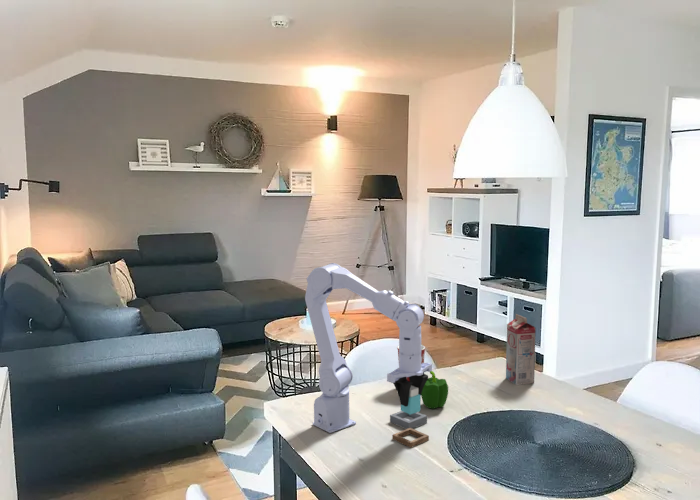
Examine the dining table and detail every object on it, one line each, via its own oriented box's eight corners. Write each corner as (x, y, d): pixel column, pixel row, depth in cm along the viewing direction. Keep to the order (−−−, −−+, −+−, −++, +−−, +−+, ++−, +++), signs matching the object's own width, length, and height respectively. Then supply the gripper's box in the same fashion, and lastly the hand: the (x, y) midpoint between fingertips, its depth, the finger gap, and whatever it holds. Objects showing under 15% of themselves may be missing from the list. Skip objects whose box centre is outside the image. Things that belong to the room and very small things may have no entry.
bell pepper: (448, 412, 171) (448, 378, 169) (419, 410, 172) (419, 377, 171) (448, 401, 179) (448, 369, 178) (420, 400, 180) (421, 368, 179)
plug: (410, 414, 151) (410, 391, 151) (400, 410, 154) (400, 387, 153) (420, 411, 154) (420, 388, 153) (410, 406, 156) (410, 384, 156)
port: (408, 430, 158) (408, 421, 158) (390, 422, 164) (390, 414, 164) (427, 422, 163) (427, 414, 163) (408, 415, 168) (408, 407, 168)
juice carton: (516, 384, 193) (517, 318, 190) (505, 378, 199) (507, 314, 197) (534, 383, 194) (536, 317, 192) (523, 376, 201) (525, 313, 198)
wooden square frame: (410, 447, 148) (410, 443, 148) (392, 439, 153) (392, 434, 153) (428, 440, 152) (428, 435, 152) (410, 432, 157) (410, 427, 157)
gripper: (400, 361, 145) (400, 414, 146) (440, 350, 154) (440, 400, 155) (381, 355, 150) (381, 406, 152) (421, 344, 159) (420, 393, 161)
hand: (409, 403), depth 154 cm, fingers closed on plug, 4 cm apart
